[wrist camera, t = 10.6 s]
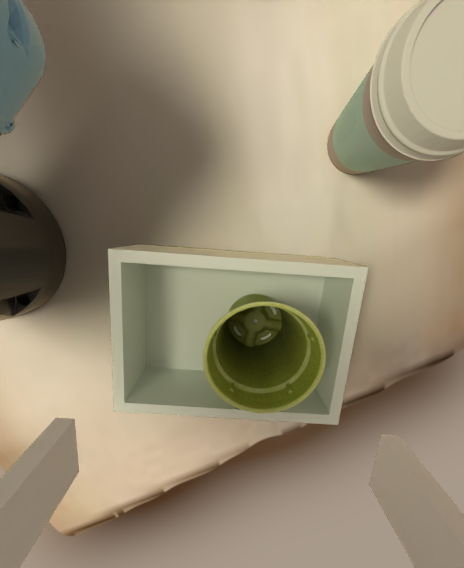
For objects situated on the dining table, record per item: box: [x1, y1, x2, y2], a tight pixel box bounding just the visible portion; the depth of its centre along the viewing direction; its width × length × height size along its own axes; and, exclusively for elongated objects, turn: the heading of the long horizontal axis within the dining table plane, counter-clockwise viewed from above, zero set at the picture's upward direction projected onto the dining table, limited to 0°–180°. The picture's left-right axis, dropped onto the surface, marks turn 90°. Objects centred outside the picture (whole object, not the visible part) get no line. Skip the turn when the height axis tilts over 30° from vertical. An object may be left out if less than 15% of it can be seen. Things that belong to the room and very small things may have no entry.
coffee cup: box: [327, 0, 464, 174], centre depth 18 cm, size 8×8×12 cm
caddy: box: [108, 244, 368, 425], centre depth 24 cm, size 21×15×7 cm
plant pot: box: [203, 294, 326, 413], centre depth 23 cm, size 9×9×9 cm
